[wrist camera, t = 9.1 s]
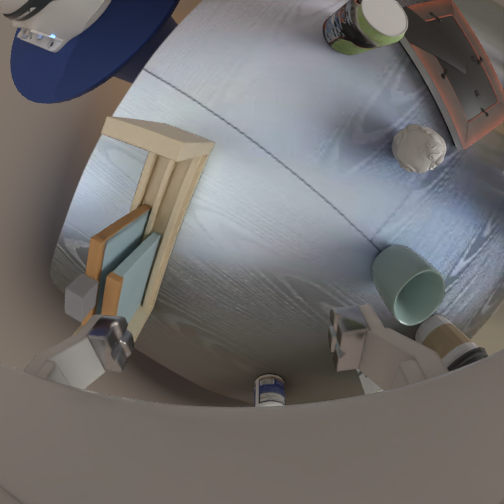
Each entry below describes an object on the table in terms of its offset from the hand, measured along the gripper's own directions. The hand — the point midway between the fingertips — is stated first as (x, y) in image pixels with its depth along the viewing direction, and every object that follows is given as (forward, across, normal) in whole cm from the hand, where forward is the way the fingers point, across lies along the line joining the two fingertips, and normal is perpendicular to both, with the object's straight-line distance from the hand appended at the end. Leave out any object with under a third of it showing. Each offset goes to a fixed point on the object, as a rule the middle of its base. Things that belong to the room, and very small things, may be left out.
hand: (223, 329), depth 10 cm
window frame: (+25, +13, +2) cm, 28 cm away
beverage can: (+25, -14, -20) cm, 35 cm away
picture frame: (+25, -32, -20) cm, 46 cm away
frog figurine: (+25, -21, -6) cm, 33 cm away
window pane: (+23, +15, +4) cm, 28 cm away
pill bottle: (+25, -1, +33) cm, 42 cm away
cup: (+25, -19, +10) cm, 33 cm away
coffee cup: (+25, -32, +25) cm, 48 cm away
